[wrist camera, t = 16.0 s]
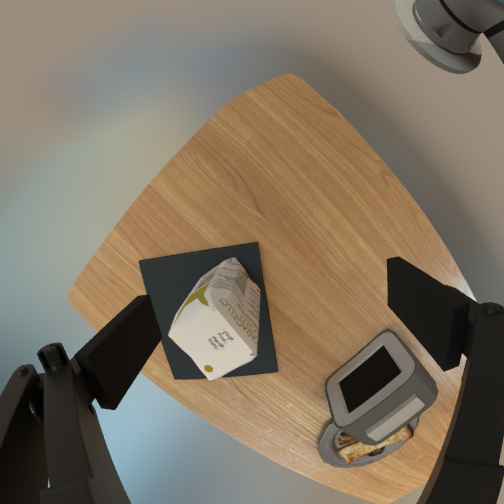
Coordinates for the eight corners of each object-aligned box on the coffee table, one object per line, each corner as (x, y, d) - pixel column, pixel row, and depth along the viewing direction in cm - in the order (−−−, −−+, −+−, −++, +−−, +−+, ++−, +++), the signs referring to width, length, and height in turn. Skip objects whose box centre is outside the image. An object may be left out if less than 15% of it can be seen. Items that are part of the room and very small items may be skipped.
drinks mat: (139, 260, 46) (138, 261, 46) (257, 241, 45) (257, 242, 44) (175, 377, 51) (174, 379, 51) (278, 370, 50) (278, 372, 49)
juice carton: (235, 249, 44) (214, 293, 26) (267, 292, 46) (268, 359, 27) (197, 276, 46) (156, 332, 27) (229, 316, 47) (210, 389, 28)
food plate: (415, 378, 49) (421, 387, 46) (417, 435, 54) (421, 444, 50) (306, 421, 52) (308, 432, 49) (328, 469, 57) (330, 479, 53)
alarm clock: (388, 325, 47) (426, 372, 32) (415, 356, 48) (450, 402, 33) (322, 381, 50) (337, 439, 35) (355, 406, 51) (373, 459, 36)
